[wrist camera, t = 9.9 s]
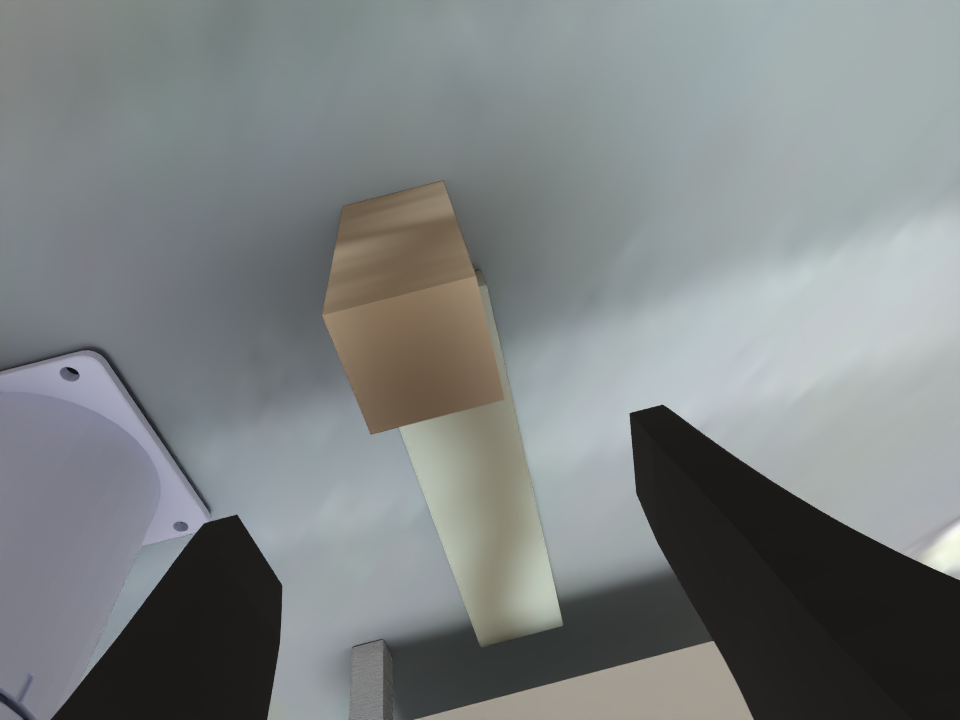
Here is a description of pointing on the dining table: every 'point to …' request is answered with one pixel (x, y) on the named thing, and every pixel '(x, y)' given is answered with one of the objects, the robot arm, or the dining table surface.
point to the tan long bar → (443, 398)
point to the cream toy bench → (579, 691)
